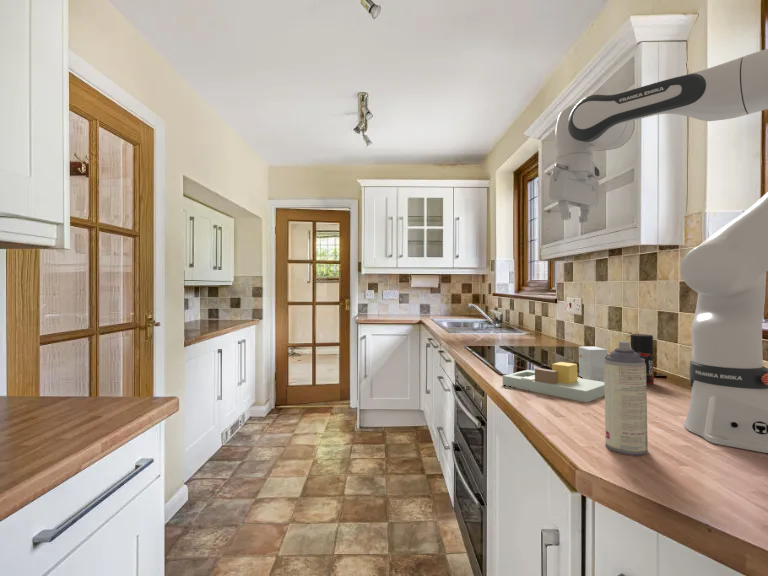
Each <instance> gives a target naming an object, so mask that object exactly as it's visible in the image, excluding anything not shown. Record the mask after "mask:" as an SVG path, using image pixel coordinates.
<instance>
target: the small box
mask: <svg viewBox="0 0 768 576" xmlns="http://www.w3.org/2000/svg"><path fill="white" fill-rule="evenodd" d="M606 356H608V350H607V349H606V348H603V347H598V346H594V345H593V346H578V368H579V369H578V372H579V373H578V375H579V376H581V377H582V378H583V379H588V380H594V381H601V382H604V361H605V357H606ZM579 376H578V377H579Z"/></svg>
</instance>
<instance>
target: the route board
mask: <svg viewBox="0 0 768 576" xmlns="http://www.w3.org/2000/svg"><path fill="white" fill-rule="evenodd" d="M577 378H578V381H577V382H574V383H570V384H566V383H561V382H558V371H554V370H552V369H548V368H547V369H546V368H539V367H538V368H534V370H531V369H525V370H521V371H517V372H514V373H507V374H505V375H502V386H504V385H507V386H506V387H509V386H511V387H510V388H513V387H516V388H515V389H518V388H520V389H519V390H523V389H525V390H524V391H528V390H529V391H528V392H533V393H537V394H542V393H543V394H544V395H548V396H551V397H552V396H553V397H557V398H562V399H568V400H573V401H578V402H582V403H587V404H588V403H589V402H591V401H592V402H593V401H594V400H597V399H600V398H602V397H605V387H604V382H601V381H594V380H588V379H582V378H580V377H577Z"/></svg>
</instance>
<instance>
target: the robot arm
mask: <svg viewBox="0 0 768 576" xmlns="http://www.w3.org/2000/svg"><path fill="white" fill-rule="evenodd" d="M765 110H768V48H766V49H762V50H759V51H756V52H753V53H750V54H746V55H744V56H741V57H738V58H736V59H733V60H730V61H729V60H728V61H727V62H724V63H721V64H717V65H715V66H711V67H709V68H706V69H702V70H699V71H695V72H691V73H688V74H684V75H681V76H675V77H672V78H667V79H664V80H660V81H657V82H653V83H650V84H647V85H644V86H640V87H637V88H633V89H629V90H627V91H624V92H623V91H622V92H620V93H615V94H608V95H607V94H591V95H589V96H586V97H584V98H582V99H581V100H580V101H579V102H578V103H575V104H571V105H570V106H567V107H566V108H565V109H563V110H562V111H561V112H560V113H559V114H558V117H557V121H556V127H555V148H556V150H557V151H556V152H557V154H556V158H555V165H554V166H553V167H552V173H550V177H549V182H548V183H549V185H548V186H549V187H548V197H549V199H550V201H552V202H556V203H557V204H558V206H557V207H558V208H559V211H560V214H561V216H560V217H561V220H564V221H568V220H570V219H571V218H572V216H571V215H572V212H570V209H569V206H573V207H578V208H580V210H579V211H580V216H578V222H579V223H580V224H587V223H589V216H590V212H591V209H592V208H596V207H598V205H599V202H600V183H599V181H600V180H599V179H601V170H600V169H599V168H598V167H597V165H596V164H595V161H593V158H594V157H593V153H594V152H597V151H600V152H601V151H610V150H615V149H619V148H621V147H622V146H624V145H625V144H626V143H627V142H628V141H629V140H630V139H631V137H632V135H633V133H634V131H635V121H637V120H642V119H644V118H649V117H653V116H657V115H658V116H659V115H667V114H668V115H670V114H671V115H677V116H678V115H679V116H684V117H689V118H692V119H697V120H700V121H703V122H714V121H716V122H717V121H724V120H731V119H737V118H741V117H743V116H747V115H751V114H754V113H758V112H762V111H765ZM679 271H680V275H681V278H682V280H683V282H684V283H685V284H686V285H687V286H688V287H689V288H690V289H691V290H693V291H694V292H695V293H697V300H696V306H695V312H694V316H693V320H692V322H691V352H692V353H691V356H692V357H691V359H692V360H691V361H689V367H688V370H689V371H688V373H689V375H688V377H689V385H690V388H691V392H690V393H691V394H690V401H689V402H690V403H689V407H688V411H687V415H686V419H685V421H684V423H683V426H684V428H685V429H686V430H687V431H690V432H691V433H693V434H696V435H697V436H701V437H702V438H703V439H705V440H706V441H707V442H709V443H712V444H716V445H721V446H727V447H732V448H737V449H743V450H749V451H754V452H759V453H764V454H768V368H767V367H765V366H764V365H763V363H764V361H763V319H764V313H765V312H764V311H765V300H766V286H767V285H766V283H767V272H768V191H767V192H766V193H764V194H763V195H762V196H761V197H760V198H759V199H758V200H757V201H755V203H753V204H752V205H751V206H750V207H748V209H746V210H744V211H743V212H742V213H740V214H739V215H738V216H736V217H735V218H733V219H732V220H731V221H729V222H728V223H727V224H725V225H723V226H722V227H721V228H719V229H718V230H717V231H716V232H714V233H713V234H712V235H710V236H709V237H708V238H706V239H705V240H704V241H703V242H701V243H700V244H699V245H698V246H696V247H694V248H692V249H691V250H690V251H689V252H687V253H686V254H685V256H684V257H683V258H682V261H681V263H680V270H679Z"/></svg>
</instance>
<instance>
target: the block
mask: <svg viewBox="0 0 768 576" xmlns="http://www.w3.org/2000/svg"><path fill="white" fill-rule="evenodd" d="M551 370H554V371H558V382H561V383H566V384H570V383H574V382H577V381H578V378H579V377H578V364H577V363H572V362H564V361H558V362H555V363H552V364H551Z"/></svg>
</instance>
